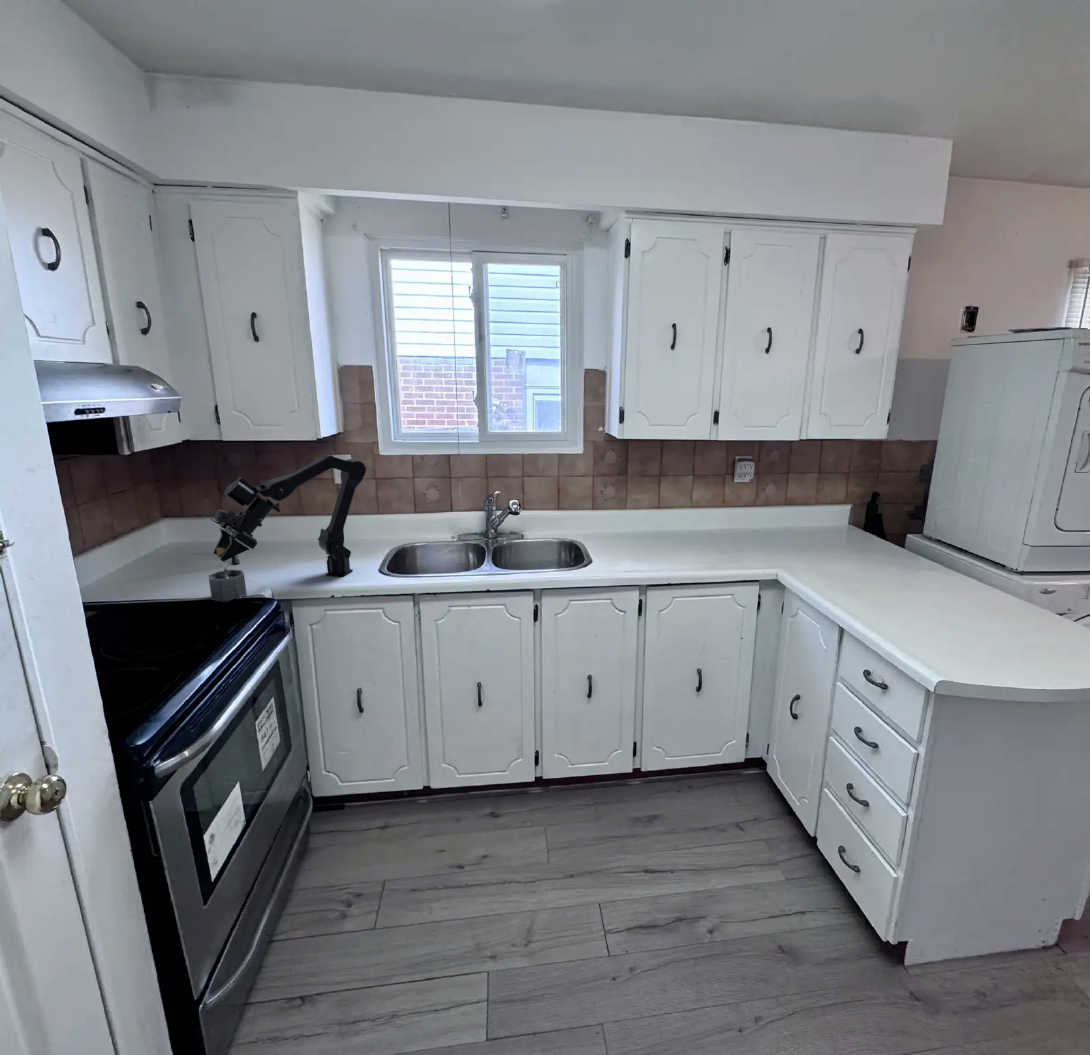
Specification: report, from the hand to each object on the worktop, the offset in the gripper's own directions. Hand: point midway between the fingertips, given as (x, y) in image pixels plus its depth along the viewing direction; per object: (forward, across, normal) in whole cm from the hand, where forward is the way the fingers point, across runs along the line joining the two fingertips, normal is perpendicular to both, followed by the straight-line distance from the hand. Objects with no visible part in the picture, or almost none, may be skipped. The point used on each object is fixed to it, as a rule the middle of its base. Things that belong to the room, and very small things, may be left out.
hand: (218, 557), depth 163 cm
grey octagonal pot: (+8, 0, +10) cm, 13 cm away
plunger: (+5, 0, +7) cm, 8 cm away
